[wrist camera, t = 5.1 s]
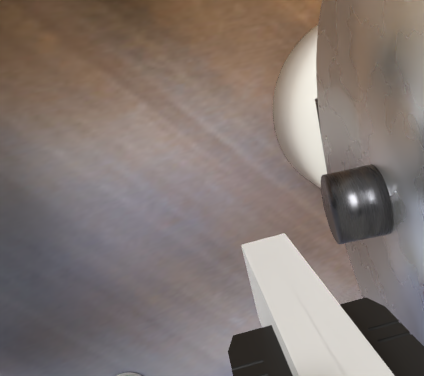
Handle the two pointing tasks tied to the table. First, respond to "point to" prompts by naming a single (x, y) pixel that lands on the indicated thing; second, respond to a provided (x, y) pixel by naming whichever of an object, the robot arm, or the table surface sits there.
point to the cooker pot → (300, 110)
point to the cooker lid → (375, 146)
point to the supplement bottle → (128, 374)
